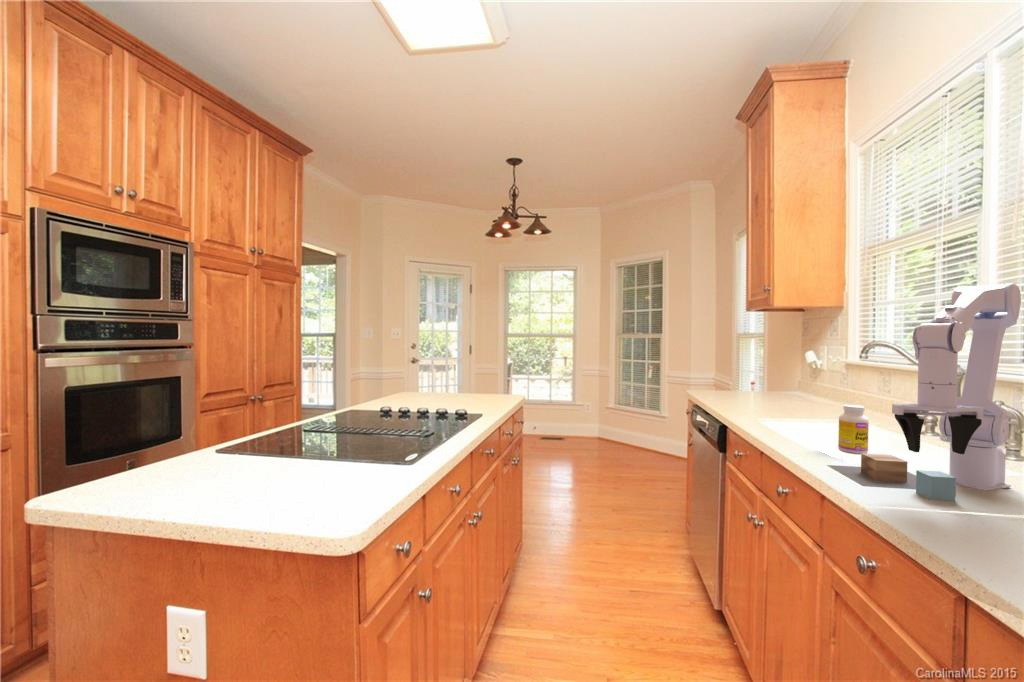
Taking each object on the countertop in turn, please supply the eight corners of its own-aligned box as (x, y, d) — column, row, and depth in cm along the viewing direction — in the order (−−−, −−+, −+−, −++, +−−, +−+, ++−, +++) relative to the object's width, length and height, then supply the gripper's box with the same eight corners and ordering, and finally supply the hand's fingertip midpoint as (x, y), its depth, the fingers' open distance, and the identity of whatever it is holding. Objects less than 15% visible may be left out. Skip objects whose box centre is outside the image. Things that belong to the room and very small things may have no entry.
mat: (826, 466, 114) (826, 465, 114) (901, 470, 111) (901, 468, 111) (863, 487, 98) (863, 485, 98) (950, 492, 95) (950, 491, 95)
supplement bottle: (855, 456, 124) (856, 408, 124) (832, 450, 131) (833, 404, 130) (874, 454, 126) (875, 407, 126) (850, 448, 132) (851, 403, 132)
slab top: (861, 462, 108) (861, 453, 108) (890, 464, 107) (890, 454, 107) (876, 470, 102) (876, 460, 102) (907, 471, 101) (907, 461, 101)
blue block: (915, 494, 94) (916, 470, 94) (939, 496, 93) (940, 471, 93) (930, 501, 90) (930, 476, 90) (955, 503, 89) (955, 477, 89)
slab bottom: (860, 472, 108) (861, 462, 108) (890, 473, 107) (890, 464, 107) (876, 480, 102) (876, 470, 102) (907, 481, 101) (907, 471, 101)
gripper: (908, 384, 89) (907, 455, 89) (997, 386, 86) (996, 459, 86) (886, 381, 96) (885, 446, 96) (967, 382, 93) (966, 450, 93)
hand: (935, 452), depth 92 cm, fingers open, 7 cm apart
